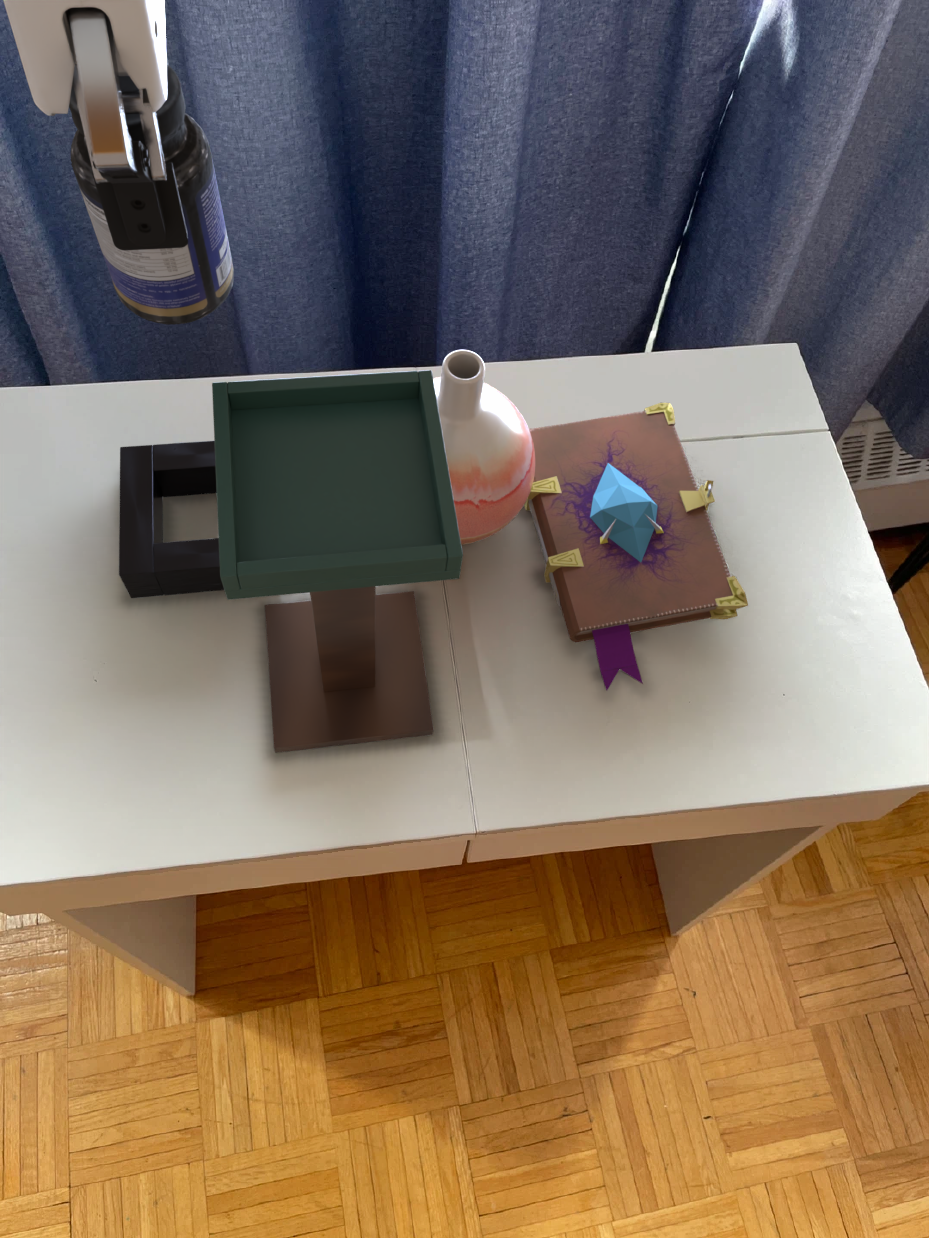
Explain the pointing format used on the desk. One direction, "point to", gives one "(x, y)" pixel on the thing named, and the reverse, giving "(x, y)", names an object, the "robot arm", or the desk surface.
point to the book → (626, 532)
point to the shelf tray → (332, 484)
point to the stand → (346, 669)
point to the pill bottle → (203, 268)
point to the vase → (482, 448)
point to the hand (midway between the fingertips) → (150, 188)
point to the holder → (141, 520)
